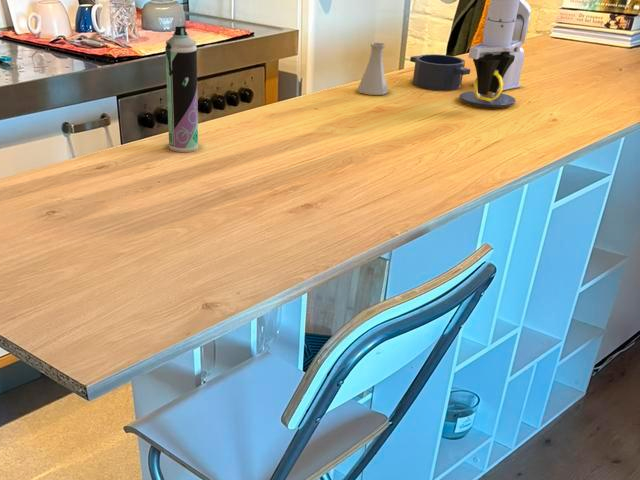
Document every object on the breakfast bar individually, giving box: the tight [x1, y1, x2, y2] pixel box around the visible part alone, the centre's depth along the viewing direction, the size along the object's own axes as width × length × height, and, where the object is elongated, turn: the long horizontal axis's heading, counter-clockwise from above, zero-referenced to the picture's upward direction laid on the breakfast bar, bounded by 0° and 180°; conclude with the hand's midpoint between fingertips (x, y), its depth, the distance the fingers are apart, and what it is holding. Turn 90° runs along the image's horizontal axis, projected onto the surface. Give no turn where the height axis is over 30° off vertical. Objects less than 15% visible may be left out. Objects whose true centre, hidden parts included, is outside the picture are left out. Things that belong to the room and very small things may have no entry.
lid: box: [459, 90, 517, 109], centre depth 184 cm, size 13×13×5 cm
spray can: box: [164, 25, 199, 153], centre depth 146 cm, size 6×6×20 cm
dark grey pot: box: [409, 53, 471, 92], centre depth 196 cm, size 12×17×6 cm
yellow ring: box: [473, 69, 503, 102], centre depth 173 cm, size 6×3×6 cm, turn 58°
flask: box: [357, 42, 389, 96], centre depth 187 cm, size 7×7×10 cm
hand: (487, 92), depth 174 cm, fingers closed on yellow ring, 2 cm apart
